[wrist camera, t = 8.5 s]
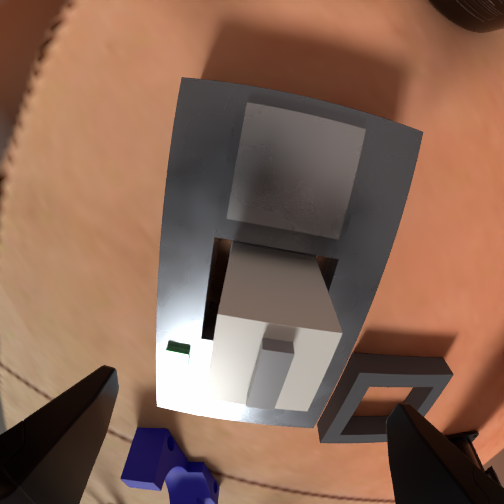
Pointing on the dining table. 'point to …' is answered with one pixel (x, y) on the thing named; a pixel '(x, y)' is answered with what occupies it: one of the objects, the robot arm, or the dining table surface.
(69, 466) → the robot arm
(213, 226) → the port panel
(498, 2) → the supplement bottle
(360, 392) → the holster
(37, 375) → the dining table surface
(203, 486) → the cable clip
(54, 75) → the dining table surface
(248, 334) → the plug
